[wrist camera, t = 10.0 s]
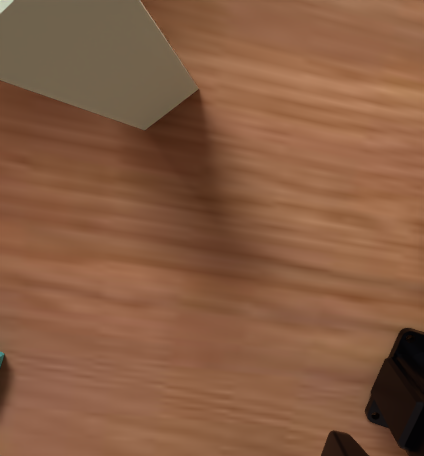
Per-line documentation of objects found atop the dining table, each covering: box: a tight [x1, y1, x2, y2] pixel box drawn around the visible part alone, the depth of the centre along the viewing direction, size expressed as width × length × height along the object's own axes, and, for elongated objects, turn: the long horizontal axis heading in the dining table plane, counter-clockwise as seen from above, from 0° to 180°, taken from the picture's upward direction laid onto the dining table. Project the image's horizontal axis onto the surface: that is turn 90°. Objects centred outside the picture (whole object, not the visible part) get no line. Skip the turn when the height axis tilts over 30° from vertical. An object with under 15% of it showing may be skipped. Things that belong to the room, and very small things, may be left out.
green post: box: [0, 0, 199, 130], centre depth 13 cm, size 4×4×13 cm
